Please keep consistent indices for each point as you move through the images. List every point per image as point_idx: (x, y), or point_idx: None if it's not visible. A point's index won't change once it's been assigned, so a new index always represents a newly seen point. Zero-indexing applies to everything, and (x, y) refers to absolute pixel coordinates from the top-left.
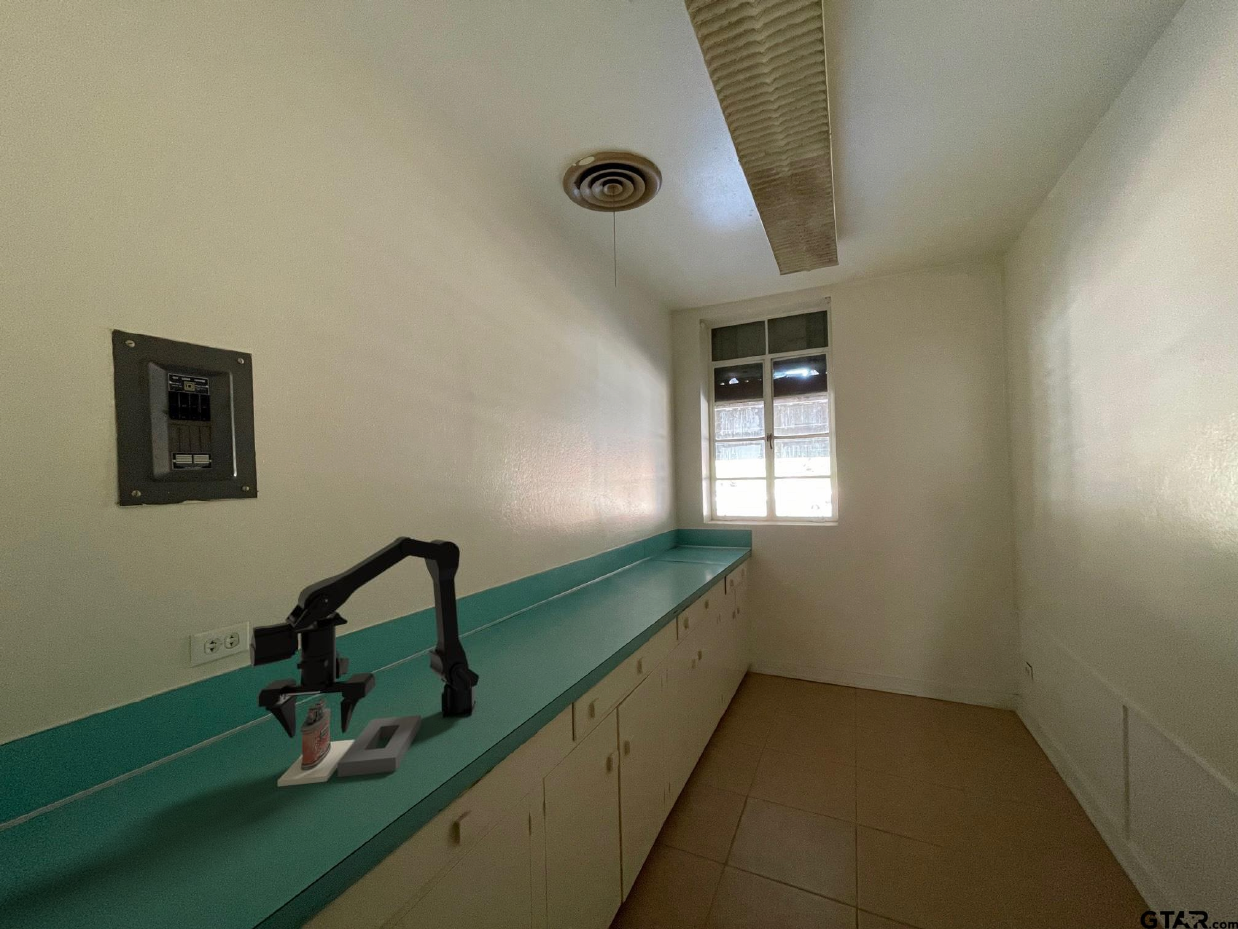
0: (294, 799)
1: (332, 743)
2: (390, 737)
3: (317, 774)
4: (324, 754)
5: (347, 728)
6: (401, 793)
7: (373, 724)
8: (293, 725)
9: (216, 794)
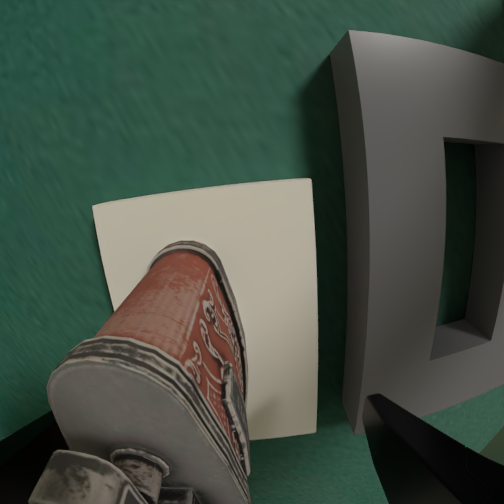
0: (259, 468)
1: (200, 211)
2: (444, 141)
3: (280, 429)
4: (246, 359)
5: (386, 400)
6: (489, 418)
7: (394, 100)
8: (46, 460)
9: (36, 416)
